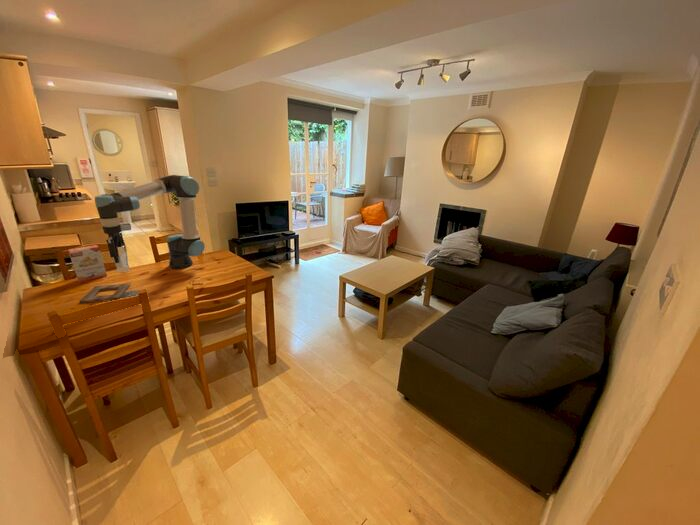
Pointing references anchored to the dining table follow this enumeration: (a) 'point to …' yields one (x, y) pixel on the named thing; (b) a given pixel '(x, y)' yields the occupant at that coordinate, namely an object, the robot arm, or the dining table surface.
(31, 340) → the dining table surface
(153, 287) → the dining table surface
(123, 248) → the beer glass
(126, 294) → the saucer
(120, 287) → the pocket frame
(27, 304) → the dining table surface
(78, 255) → the cracker box
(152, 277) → the dining table surface
